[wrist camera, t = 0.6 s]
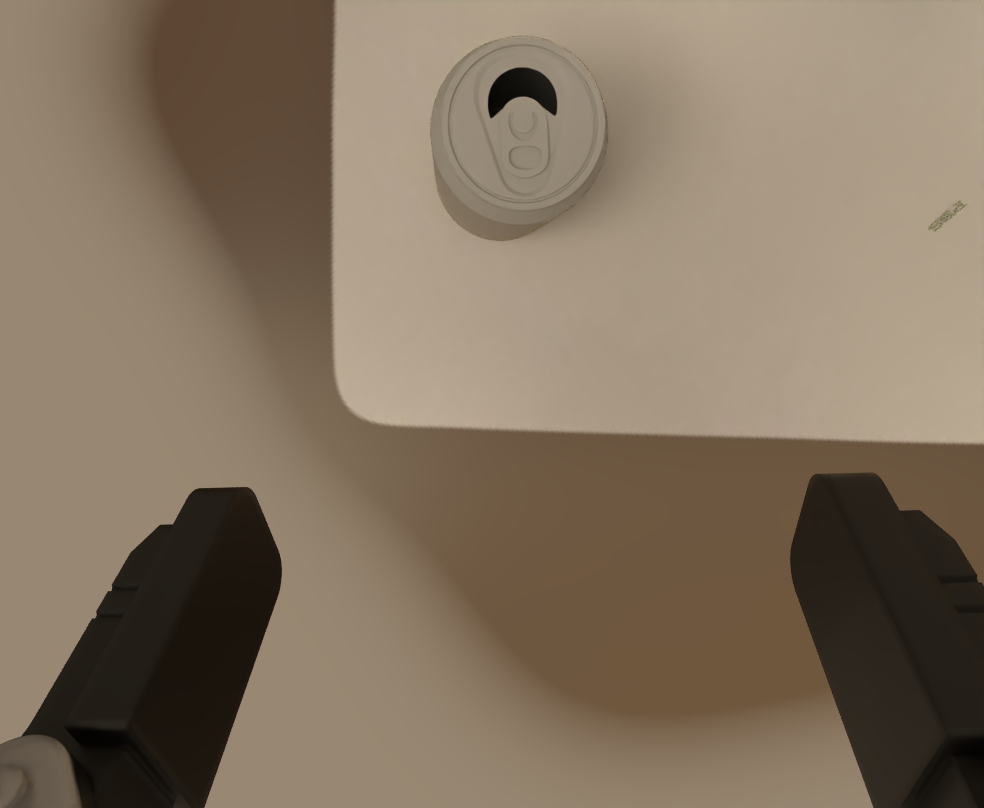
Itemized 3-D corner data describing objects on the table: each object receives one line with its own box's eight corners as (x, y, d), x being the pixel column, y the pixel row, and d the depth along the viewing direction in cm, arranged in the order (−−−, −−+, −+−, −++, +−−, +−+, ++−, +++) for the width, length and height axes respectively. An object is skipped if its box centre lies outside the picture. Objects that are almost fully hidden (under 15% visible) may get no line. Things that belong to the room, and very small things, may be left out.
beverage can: (558, 108, 35) (615, 17, 23) (563, 239, 36) (619, 216, 24) (431, 113, 34) (422, 24, 23) (440, 245, 36) (436, 225, 24)
